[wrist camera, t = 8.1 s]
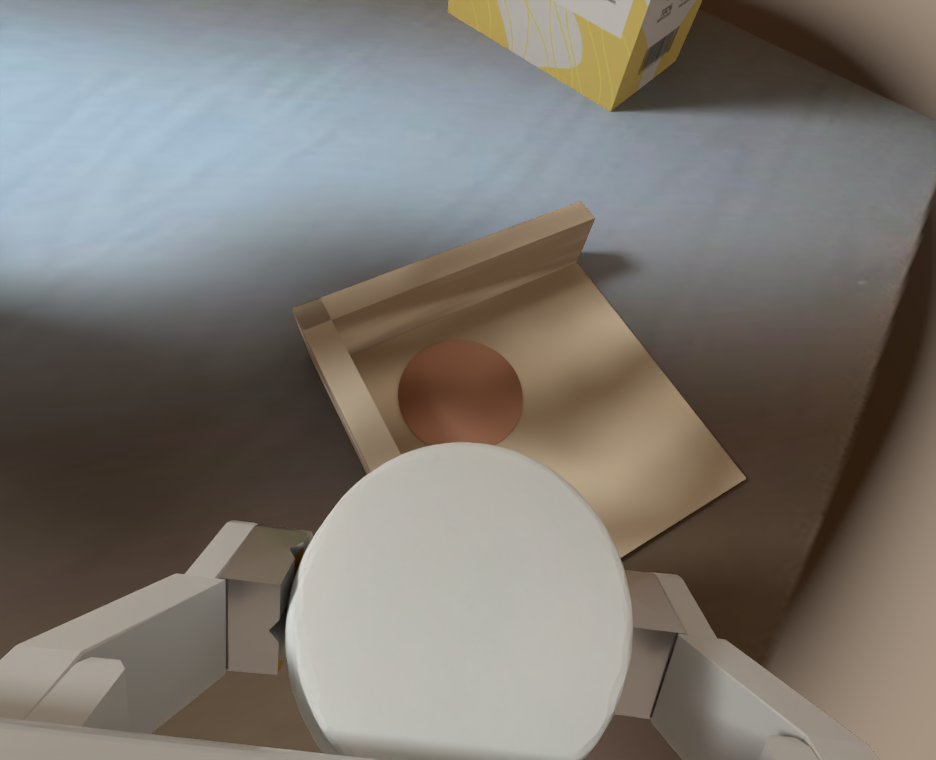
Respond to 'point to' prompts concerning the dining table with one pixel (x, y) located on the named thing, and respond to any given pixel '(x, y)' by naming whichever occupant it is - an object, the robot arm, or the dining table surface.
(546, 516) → the supplement bottle
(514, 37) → the pasta box
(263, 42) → the dining table surface
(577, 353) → the tray
